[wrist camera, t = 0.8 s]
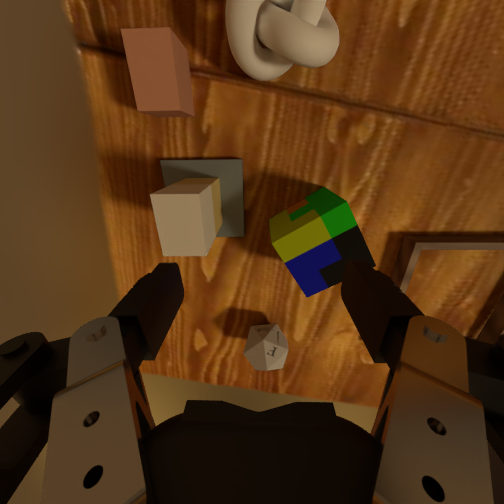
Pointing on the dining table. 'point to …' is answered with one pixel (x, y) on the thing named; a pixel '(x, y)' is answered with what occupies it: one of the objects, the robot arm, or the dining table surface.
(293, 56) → the white knot
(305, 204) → the puzzle toy
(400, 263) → the tray frame
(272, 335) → the die
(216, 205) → the brick mustard
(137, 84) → the brick terracotta
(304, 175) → the dining table surface
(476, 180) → the dining table surface
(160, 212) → the brick white
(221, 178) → the baseplate
